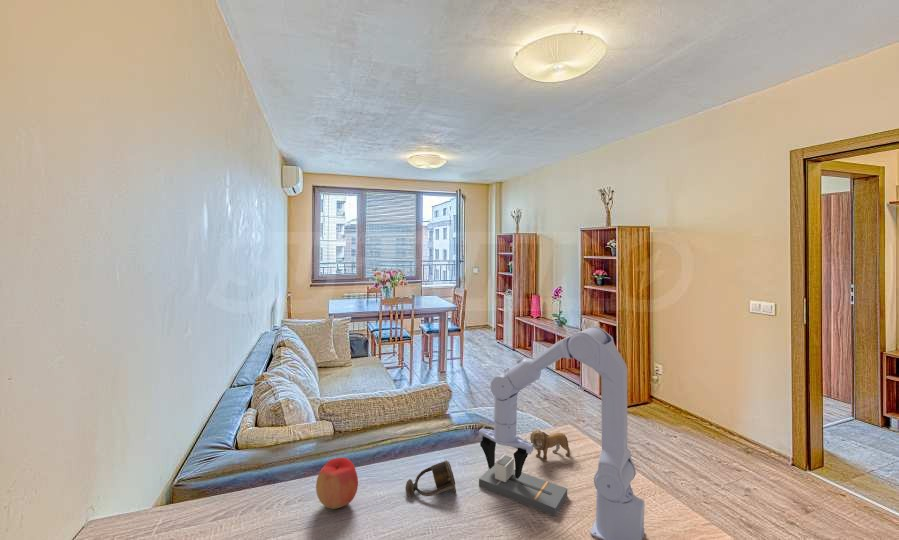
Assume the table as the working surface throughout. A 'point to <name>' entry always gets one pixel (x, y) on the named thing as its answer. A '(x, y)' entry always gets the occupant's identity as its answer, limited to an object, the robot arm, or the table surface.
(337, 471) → the apple
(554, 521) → the table surface
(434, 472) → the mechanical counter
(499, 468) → the fader knob
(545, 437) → the lion figurine
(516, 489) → the fader console
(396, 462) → the table surface
